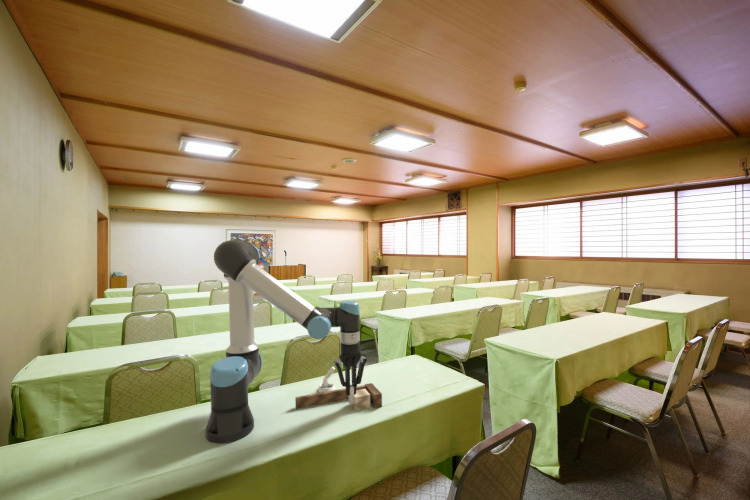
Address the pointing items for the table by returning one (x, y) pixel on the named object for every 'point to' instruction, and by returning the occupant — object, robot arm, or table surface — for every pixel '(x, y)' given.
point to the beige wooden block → (361, 399)
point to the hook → (326, 383)
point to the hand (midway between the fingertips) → (351, 402)
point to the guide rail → (338, 397)
